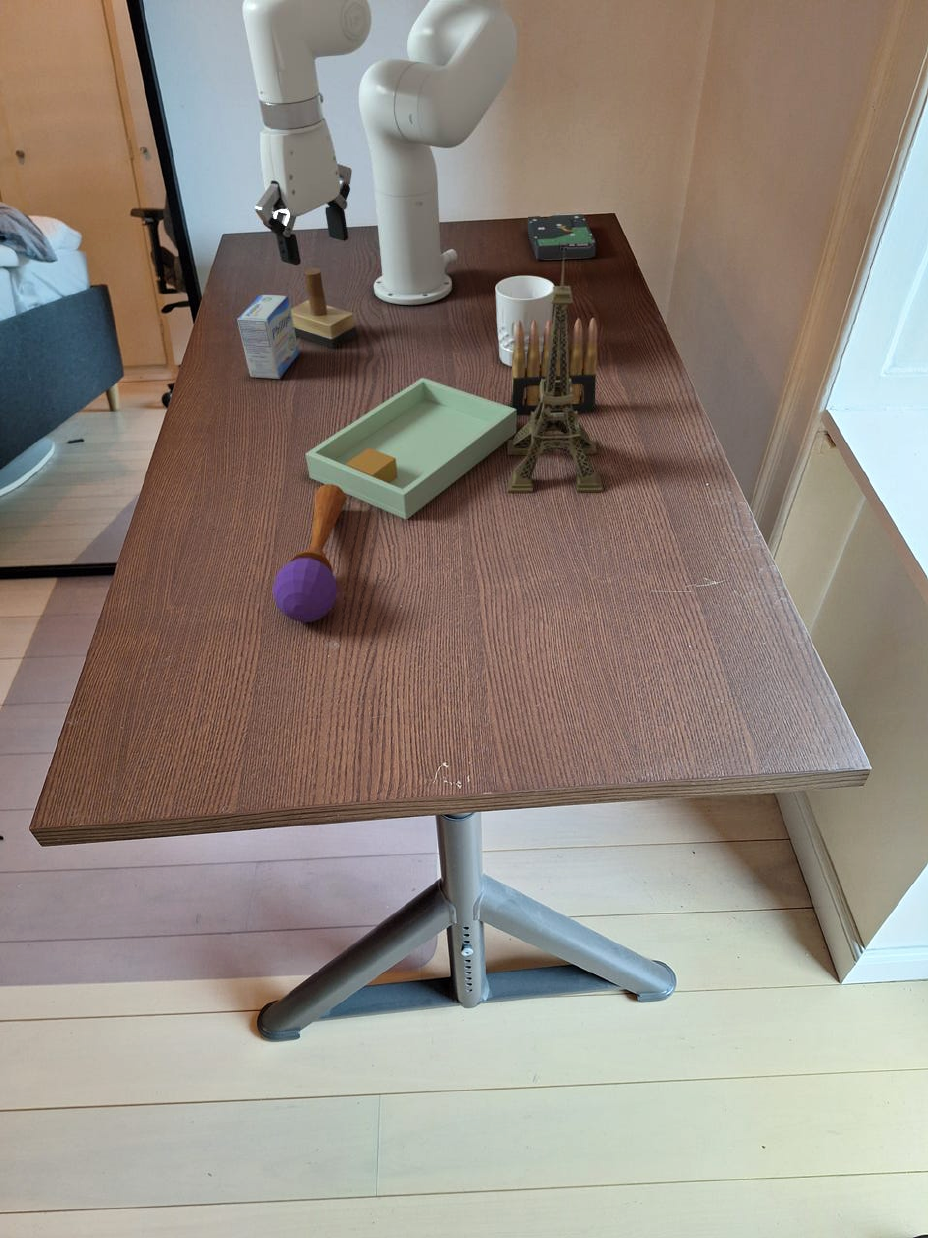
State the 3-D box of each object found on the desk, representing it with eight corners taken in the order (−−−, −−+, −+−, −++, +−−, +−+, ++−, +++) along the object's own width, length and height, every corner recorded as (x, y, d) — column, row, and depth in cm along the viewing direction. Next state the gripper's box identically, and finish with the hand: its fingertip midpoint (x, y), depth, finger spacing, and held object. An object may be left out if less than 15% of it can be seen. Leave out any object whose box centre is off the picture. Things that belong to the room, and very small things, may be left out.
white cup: (559, 350, 121) (563, 280, 114) (539, 375, 116) (542, 302, 109) (508, 341, 123) (509, 271, 117) (486, 364, 118) (485, 293, 111)
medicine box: (279, 380, 117) (267, 319, 111) (249, 378, 118) (236, 317, 112) (299, 354, 122) (289, 294, 116) (270, 352, 123) (259, 293, 117)
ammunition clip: (592, 404, 110) (600, 313, 101) (594, 411, 108) (602, 320, 100) (509, 407, 110) (510, 317, 101) (511, 415, 108) (511, 324, 100)
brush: (311, 322, 130) (301, 258, 124) (356, 335, 126) (348, 271, 120) (288, 334, 127) (277, 270, 121) (333, 348, 123) (324, 283, 117)
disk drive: (525, 232, 156) (536, 261, 145) (526, 216, 154) (537, 244, 143) (581, 229, 156) (596, 258, 145) (582, 212, 154) (598, 241, 143)
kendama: (360, 477, 92) (334, 588, 76) (355, 523, 96) (330, 638, 80) (304, 469, 91) (267, 579, 76) (302, 516, 95) (266, 630, 79)
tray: (423, 400, 112) (422, 377, 109) (516, 432, 105) (516, 408, 103) (309, 477, 99) (305, 453, 97) (406, 519, 93) (404, 494, 91)
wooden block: (371, 465, 99) (368, 447, 98) (397, 476, 98) (395, 457, 96) (348, 482, 97) (345, 463, 95) (375, 493, 95) (372, 474, 93)
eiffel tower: (507, 442, 104) (509, 228, 86) (594, 441, 103) (613, 226, 86) (508, 492, 96) (510, 269, 79) (602, 492, 95) (624, 267, 78)
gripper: (317, 91, 113) (337, 224, 125) (220, 127, 104) (252, 267, 116) (359, 98, 110) (376, 234, 122) (263, 135, 100) (291, 278, 113)
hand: (315, 250), depth 119 cm, fingers open, 9 cm apart
